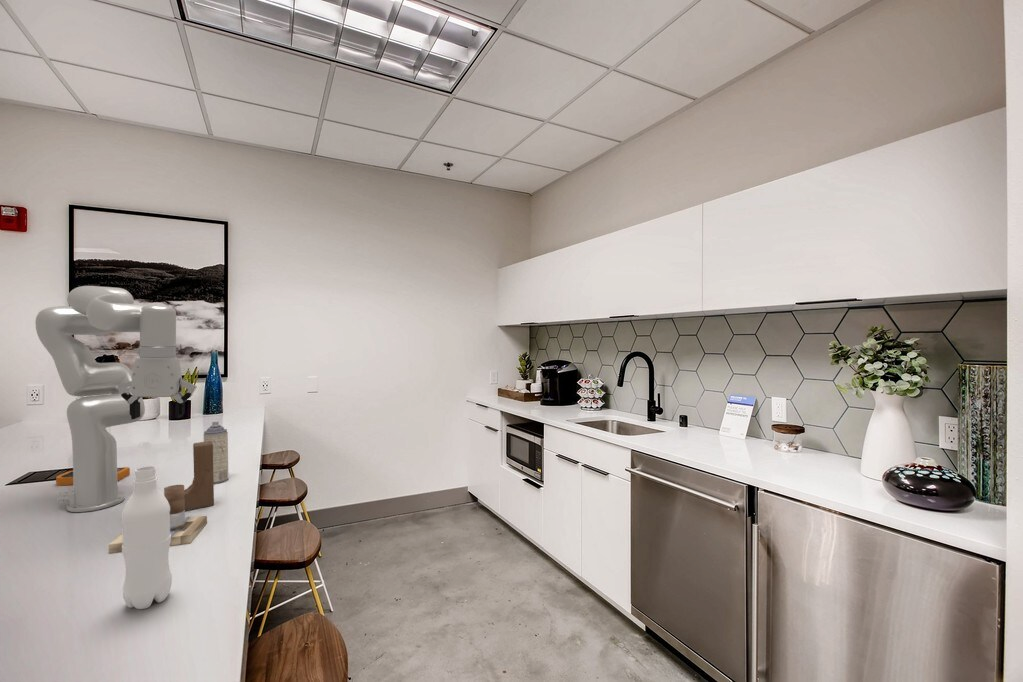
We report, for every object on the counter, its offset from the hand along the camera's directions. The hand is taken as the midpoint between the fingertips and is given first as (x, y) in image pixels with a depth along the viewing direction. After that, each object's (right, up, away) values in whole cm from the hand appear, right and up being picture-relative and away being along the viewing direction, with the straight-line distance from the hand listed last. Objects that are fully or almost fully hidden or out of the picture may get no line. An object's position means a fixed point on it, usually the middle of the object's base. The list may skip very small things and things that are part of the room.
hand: (157, 417), depth 122 cm
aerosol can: (-6, -27, +33) cm, 43 cm away
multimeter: (-48, -28, +34) cm, 65 cm away
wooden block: (+2, -28, +11) cm, 30 cm away
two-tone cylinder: (+10, -28, -8) cm, 31 cm away
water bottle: (+25, -29, -35) cm, 52 cm away
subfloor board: (+8, -28, -9) cm, 30 cm away
